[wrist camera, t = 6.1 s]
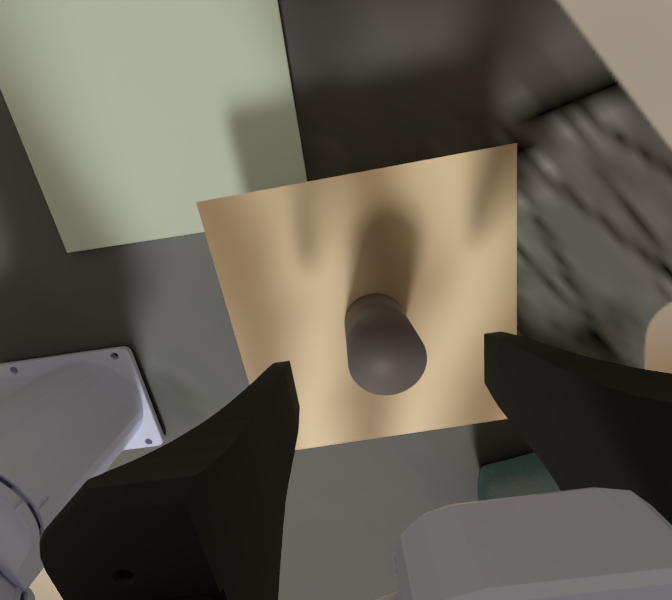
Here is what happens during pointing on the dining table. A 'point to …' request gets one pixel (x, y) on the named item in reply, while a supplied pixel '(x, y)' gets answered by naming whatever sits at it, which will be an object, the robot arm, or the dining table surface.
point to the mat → (148, 110)
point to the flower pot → (515, 478)
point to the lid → (375, 290)
